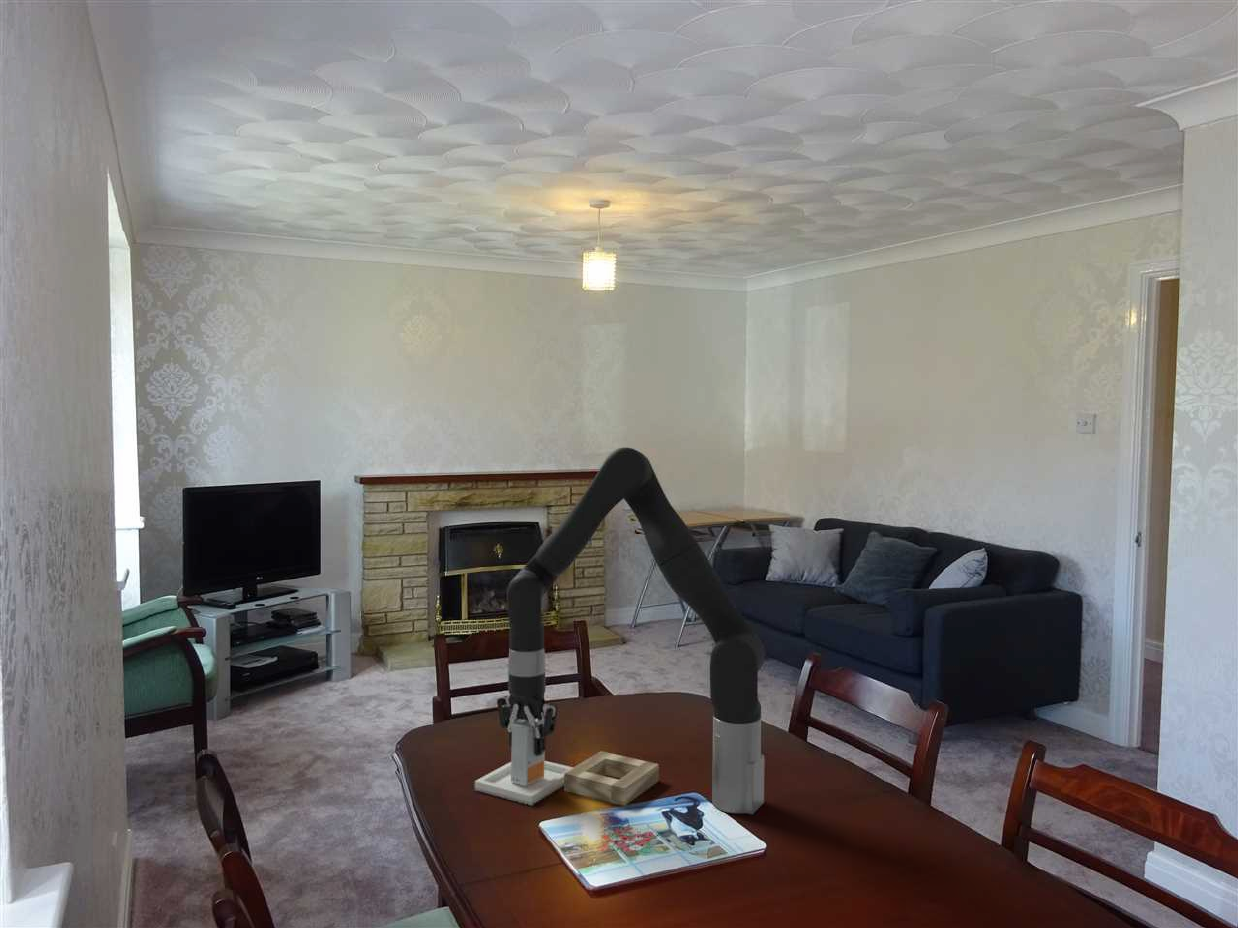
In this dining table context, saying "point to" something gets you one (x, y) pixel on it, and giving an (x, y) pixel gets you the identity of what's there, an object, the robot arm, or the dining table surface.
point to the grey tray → (503, 787)
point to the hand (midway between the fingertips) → (527, 751)
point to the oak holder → (596, 785)
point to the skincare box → (525, 755)
